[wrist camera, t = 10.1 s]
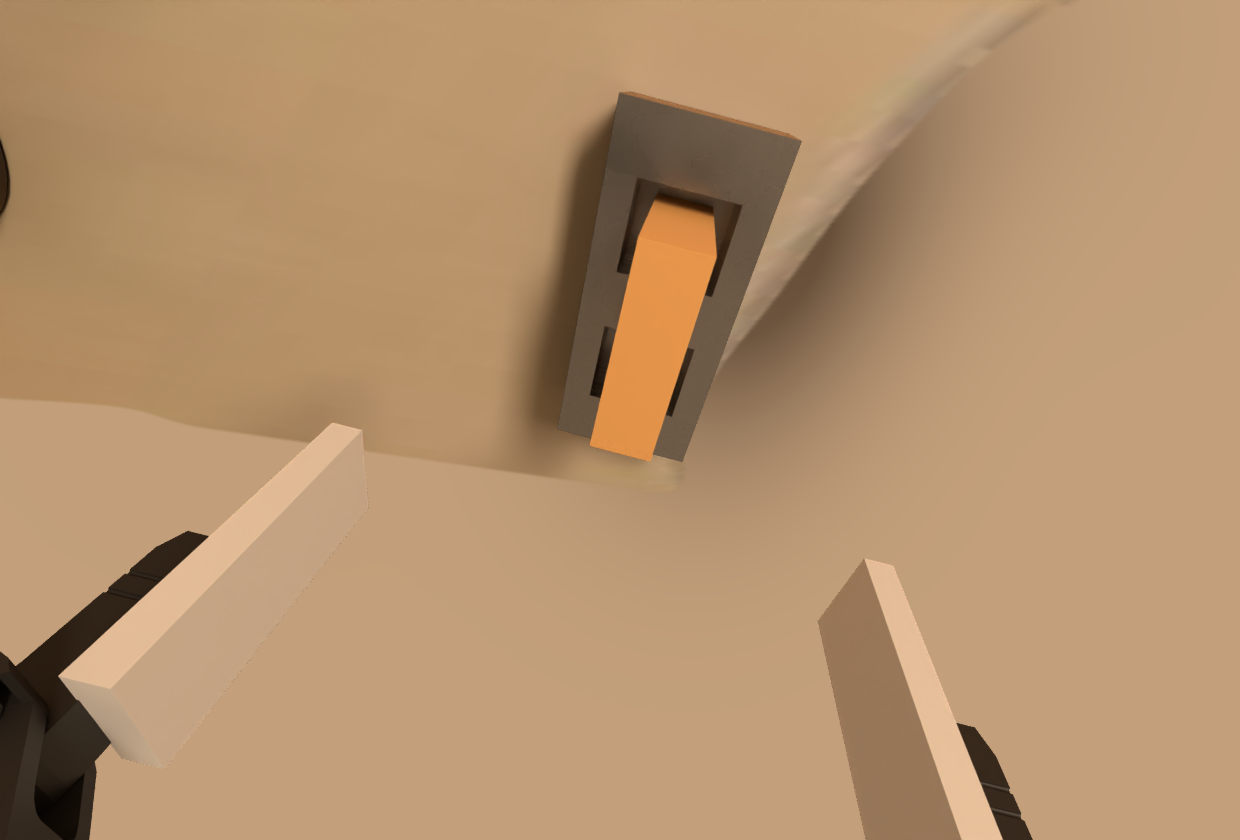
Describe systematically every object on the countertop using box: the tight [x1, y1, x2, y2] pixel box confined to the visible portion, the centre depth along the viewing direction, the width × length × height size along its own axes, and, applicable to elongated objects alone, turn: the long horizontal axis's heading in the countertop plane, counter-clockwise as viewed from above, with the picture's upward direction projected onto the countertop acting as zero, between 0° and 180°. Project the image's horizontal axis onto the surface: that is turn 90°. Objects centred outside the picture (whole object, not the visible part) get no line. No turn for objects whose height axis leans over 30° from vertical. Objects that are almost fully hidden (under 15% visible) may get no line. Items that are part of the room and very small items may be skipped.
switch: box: [558, 92, 802, 462], centre depth 28 cm, size 8×18×4 cm, turn 168°
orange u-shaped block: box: [590, 192, 717, 461], centre depth 26 cm, size 3×10×10 cm, turn 168°
